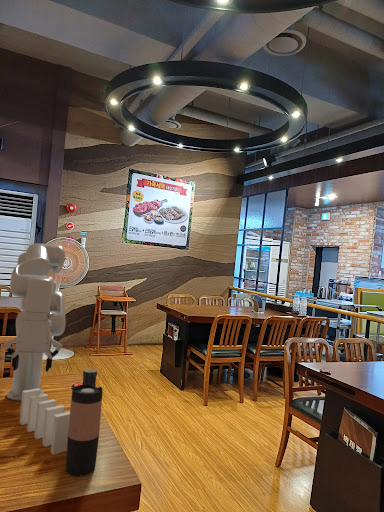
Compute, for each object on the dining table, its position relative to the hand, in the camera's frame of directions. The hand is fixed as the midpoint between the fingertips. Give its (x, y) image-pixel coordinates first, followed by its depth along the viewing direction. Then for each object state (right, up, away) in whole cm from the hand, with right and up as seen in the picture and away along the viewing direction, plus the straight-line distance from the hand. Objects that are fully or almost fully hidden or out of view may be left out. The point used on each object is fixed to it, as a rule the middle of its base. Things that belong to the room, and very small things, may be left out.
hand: (31, 369), depth 121 cm
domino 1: (0, -16, -2) cm, 16 cm away
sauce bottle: (+19, -18, -10) cm, 28 cm away
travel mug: (+23, -17, -26) cm, 39 cm away
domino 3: (+8, -16, -10) cm, 21 cm away
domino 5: (+15, -17, -18) cm, 29 cm away
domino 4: (+12, -17, -14) cm, 25 cm away
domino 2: (+4, -16, -6) cm, 18 cm away
